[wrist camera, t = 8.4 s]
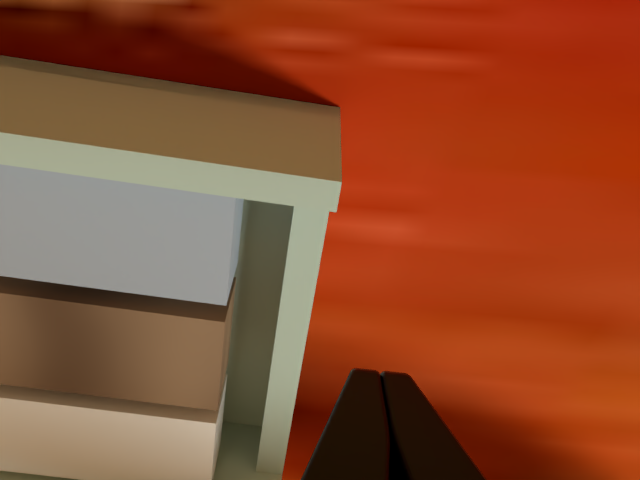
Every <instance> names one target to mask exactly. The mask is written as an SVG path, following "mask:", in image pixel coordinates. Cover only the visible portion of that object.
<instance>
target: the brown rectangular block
mask: <svg viewBox="0 0 640 480" xmlns="http://www.w3.org/2000/svg"><path fill="white" fill-rule="evenodd" d="M235 286H236V277H234V278H233V282H232V286H231V290H230V293H229V297H228V301H227V305H226V306H224V305H216V304H209V303H201V302H194V301H186V300H179V299H171V298H163V297H156V296H148V295H141V294H133V293H126V292H118V291H111V290H103V289H96V288H88V287H80V286H73V285H65V284H58V283H50V282H43V281H35V280H28V279H20V278H13V277H5V276H0V384H2V385H11V386H19V387H27V388H35V389H43V390H52V391H60V392H68V393H76V394H84V395H92V396H101V397H109V398H117V399H125V400H133V401H141V402H150V403H158V404H166V405H174V406H182V407H190V408H199V409H207V410H215V411H217V409H218V405H219V401H220V396H221V392H222V387H223V383H224V378H225V374H226V369H227V365H228V360H229V349H230V338H231V328H232V317H233V307H234V296H235Z"/></svg>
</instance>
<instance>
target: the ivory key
mask: <svg viewBox="0 0 640 480" xmlns="http://www.w3.org/2000/svg"><path fill="white" fill-rule="evenodd" d="M226 381H227V374H225V378H224V383H223V387H222V392H221V396H220V401H219V405H218V409H217V411H215V410H207V409H199V408H190V407H182V406H174V405H166V404H158V403H150V402H141V401H133V400H125V399H117V398H109V397H101V396H92V395H84V394H76V393H68V392H60V391H52V390H43V389H35V388H27V387H19V386H11V385H2V384H0V471H8V472H17V473H26V474H34V475H43V476H52V477H61V478H69V479H78V480H213V477H214V472H215V468H216V463H217V458H218V453H219V448H220V443H221V434H222V423H223V413H224V402H225V392H226Z"/></svg>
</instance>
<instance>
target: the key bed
mask: <svg viewBox="0 0 640 480" xmlns="http://www.w3.org/2000/svg"><path fill="white" fill-rule="evenodd" d="M0 164H2V165H9V166H16V167H23V168H30V169H37V170H44V171H51V172H58V173H65V174H72V175H79V176H86V177H93V178H100V179H107V180H114V181H121V182H128V183H135V184H142V185H149V186H156V187H163V188H170V189H177V190H183V191H190V192H197V193H204V194H211V195H218V196H225V197H232V198H239V199H244V201H243V211H242V222H241V232H240V243H239V254H238V263H237V267H236V270H235V274H234V277H236V286H235V296H234V307H233V317H232V328H231V338H230V349H229V360H228V365H227V369H226V374H227V381H226V392H225V402H224V413H223V423H222V434H221V443H220V448H219V453H218V458H217V463H216V468H215V472H214V477H213V480H282V473H283V467H284V462H285V456H286V450H287V445H288V439H289V434H290V428H291V422H292V417H293V411H294V406H295V400H296V394H297V389H298V383H299V378H300V372H301V366H302V361H303V355H304V350H305V344H306V338H307V333H308V327H309V322H310V316H311V310H312V305H313V299H314V294H315V288H316V282H317V277H318V271H319V266H320V260H321V254H322V249H323V243H324V238H325V232H326V226H327V221H328V215H329V211H330V212H336V211H337V206H338V200H339V195H340V189H341V184H342V167H341V126H340V107H335V106H328V105H322V104H315V103H309V102H302V101H296V100H289V99H283V98H276V97H270V96H263V95H257V94H250V93H243V92H237V91H230V90H224V89H217V88H211V87H204V86H198V85H191V84H185V83H178V82H172V81H165V80H159V79H152V78H146V77H139V76H133V75H126V74H120V73H113V72H107V71H100V70H94V69H87V68H80V67H74V66H67V65H61V64H54V63H48V62H41V61H35V60H28V59H22V58H15V57H9V56H2V55H0ZM0 480H78V479H69V478H61V477H52V476H43V475H34V474H26V473H17V472H8V471H0Z"/></svg>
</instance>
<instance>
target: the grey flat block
mask: <svg viewBox="0 0 640 480" xmlns="http://www.w3.org/2000/svg"><path fill="white" fill-rule="evenodd" d="M243 201H244V199H239V198H232V197H225V196H218V195H211V194H204V193H197V192H190V191H183V190H177V189H170V188H163V187H156V186H149V185H142V184H135V183H128V182H121V181H114V180H107V179H100V178H93V177H86V176H79V175H72V174H65V173H58V172H51V171H44V170H37V169H30V168H23V167H16V166H9V165H2V164H0V276H5V277H13V278H20V279H28V280H35V281H43V282H50V283H58V284H65V285H73V286H80V287H88V288H96V289H103V290H111V291H118V292H126V293H133V294H141V295H148V296H156V297H163V298H171V299H179V300H186V301H194V302H201V303H209V304H216V305H224V306H226V305H227V301H228V297H229V293H230V290H231V286H232V282H233V278H234V274H235V270H236V267H237V263H238V254H239V243H240V232H241V222H242V211H243Z"/></svg>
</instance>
